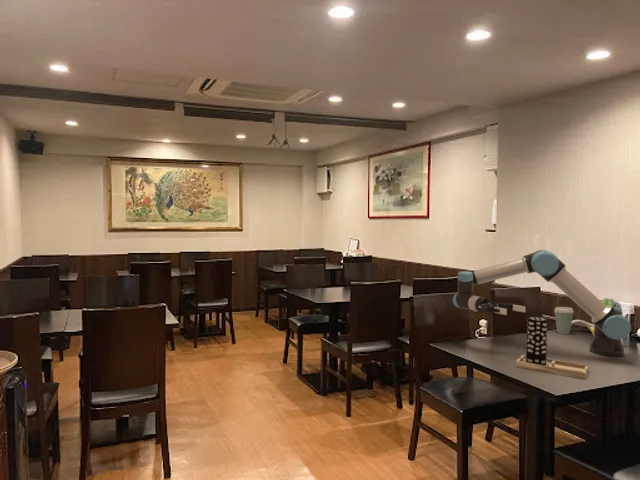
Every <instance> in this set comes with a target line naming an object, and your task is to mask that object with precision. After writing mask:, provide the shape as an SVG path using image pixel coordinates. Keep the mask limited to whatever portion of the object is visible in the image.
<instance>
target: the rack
mask: <svg viewBox="0 0 640 480" xmlns="http://www.w3.org/2000/svg"><path fill="white" fill-rule="evenodd" d="M516 367H517V368H522V369H527V370H531V371H538V372H543V373H549V374H553V373H554V374H555V375H560V376H564V377H570V378H575V379H582V380H585V379H586V377H587V375H588V373H589V368H590V365H588V364H583V363H577V362H569V361H566V360H565V361H564V360H558V359H552V358H547V357H546V365H539V364H533V363H528V362H526V354H522V355H521V356H520V357H519V358H518V359H517V360H515V368H516Z"/></svg>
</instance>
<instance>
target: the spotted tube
mask: <svg viewBox="0 0 640 480" xmlns="http://www.w3.org/2000/svg"><path fill="white" fill-rule="evenodd" d="M526 321H527V322H526V345H525V346H526V347H525V349H526V350H525V355H526V362H528V363H533V364H539V365H546V358H547V349H548V325H549V323H548V322H549V320H548V319H547V318H545V317H539V316H538V317H537V316H528V317H527V319H526Z"/></svg>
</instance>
